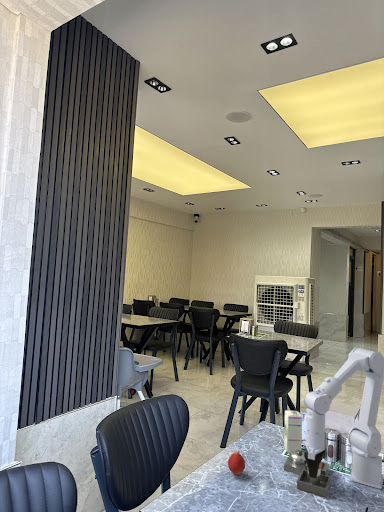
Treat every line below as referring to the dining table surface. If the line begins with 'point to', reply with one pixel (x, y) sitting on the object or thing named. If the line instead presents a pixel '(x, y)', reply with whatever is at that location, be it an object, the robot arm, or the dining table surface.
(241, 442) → the dining table surface
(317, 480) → the pin
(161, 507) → the dining table surface
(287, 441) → the syrup box
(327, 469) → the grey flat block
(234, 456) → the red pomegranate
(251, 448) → the dining table surface
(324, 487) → the tray
